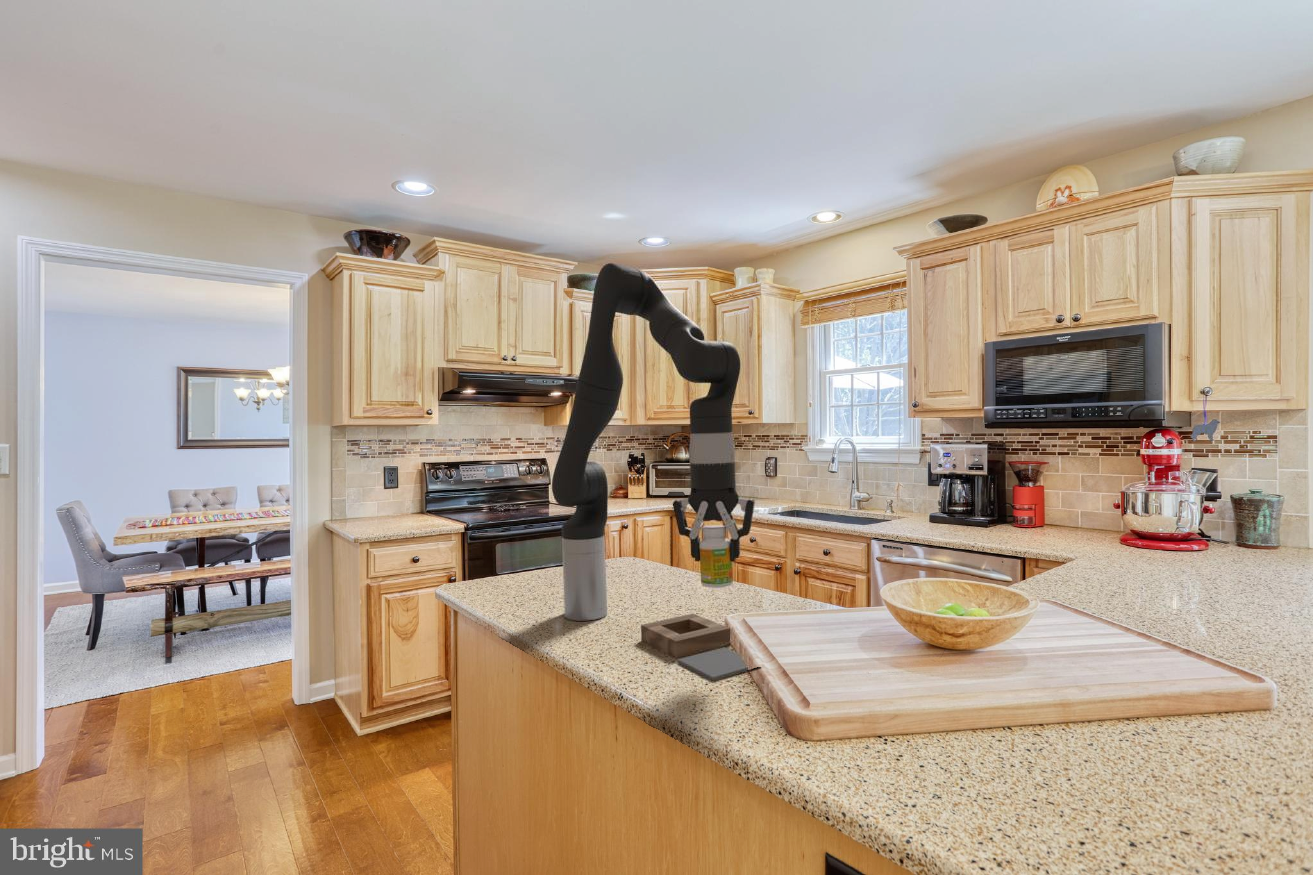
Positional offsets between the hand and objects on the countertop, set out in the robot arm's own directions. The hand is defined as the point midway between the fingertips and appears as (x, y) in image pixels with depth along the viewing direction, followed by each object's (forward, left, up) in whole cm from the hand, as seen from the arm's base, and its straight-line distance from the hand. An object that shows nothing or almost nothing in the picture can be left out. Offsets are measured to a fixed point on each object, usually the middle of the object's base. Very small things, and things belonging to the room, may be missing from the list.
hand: (715, 560), depth 111 cm
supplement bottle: (0, 0, -4) cm, 4 cm away
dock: (-13, +2, -18) cm, 22 cm away
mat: (0, 0, -18) cm, 18 cm away
